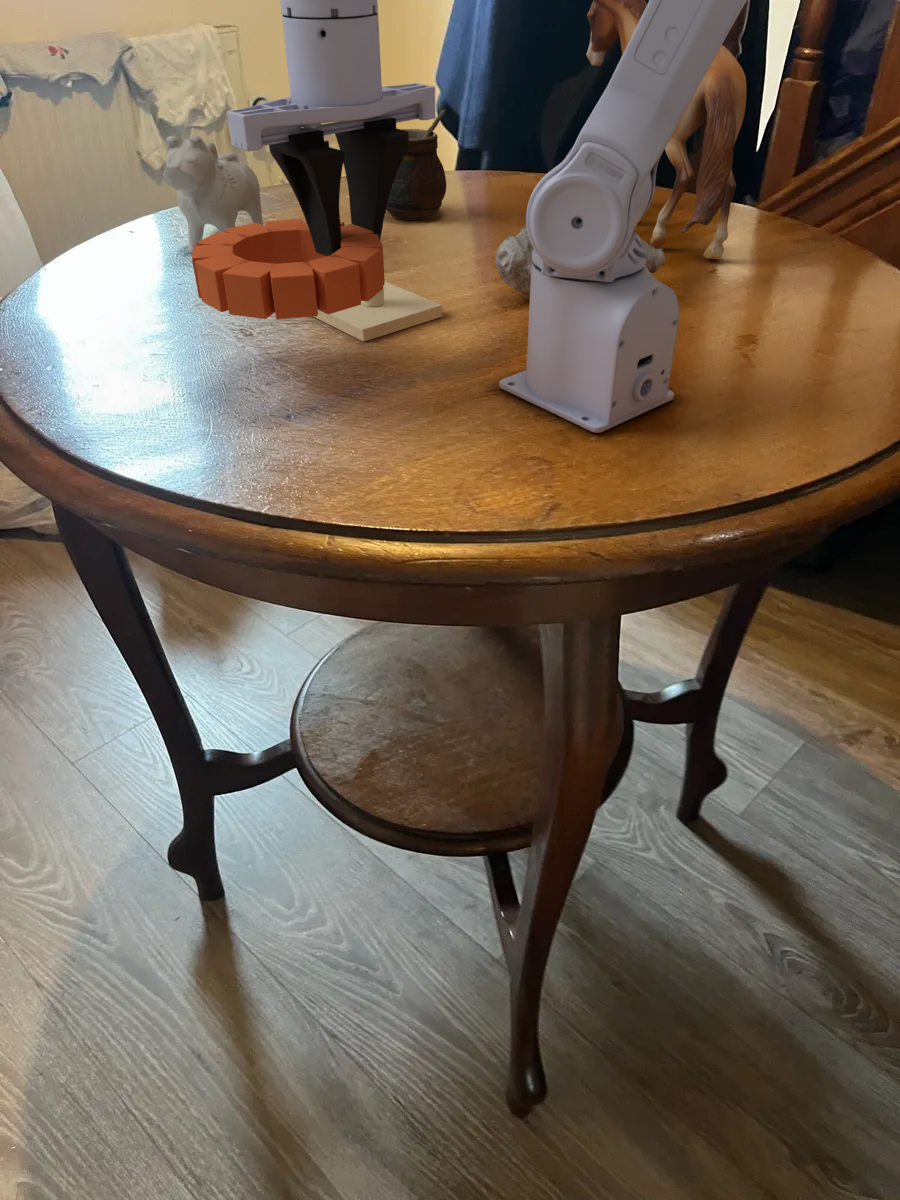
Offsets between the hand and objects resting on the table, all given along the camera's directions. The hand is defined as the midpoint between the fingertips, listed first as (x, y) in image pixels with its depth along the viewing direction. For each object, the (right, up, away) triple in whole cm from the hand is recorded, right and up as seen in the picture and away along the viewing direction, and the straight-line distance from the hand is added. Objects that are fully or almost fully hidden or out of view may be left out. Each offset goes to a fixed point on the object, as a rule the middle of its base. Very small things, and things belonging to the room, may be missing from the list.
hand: (348, 249), depth 62 cm
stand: (+1, -1, +13) cm, 13 cm away
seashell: (+18, +2, +16) cm, 24 cm away
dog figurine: (-16, +11, +28) cm, 33 cm away
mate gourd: (+3, +18, +36) cm, 40 cm away
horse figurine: (+25, +12, +29) cm, 40 cm away
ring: (-4, -3, -1) cm, 5 cm away
